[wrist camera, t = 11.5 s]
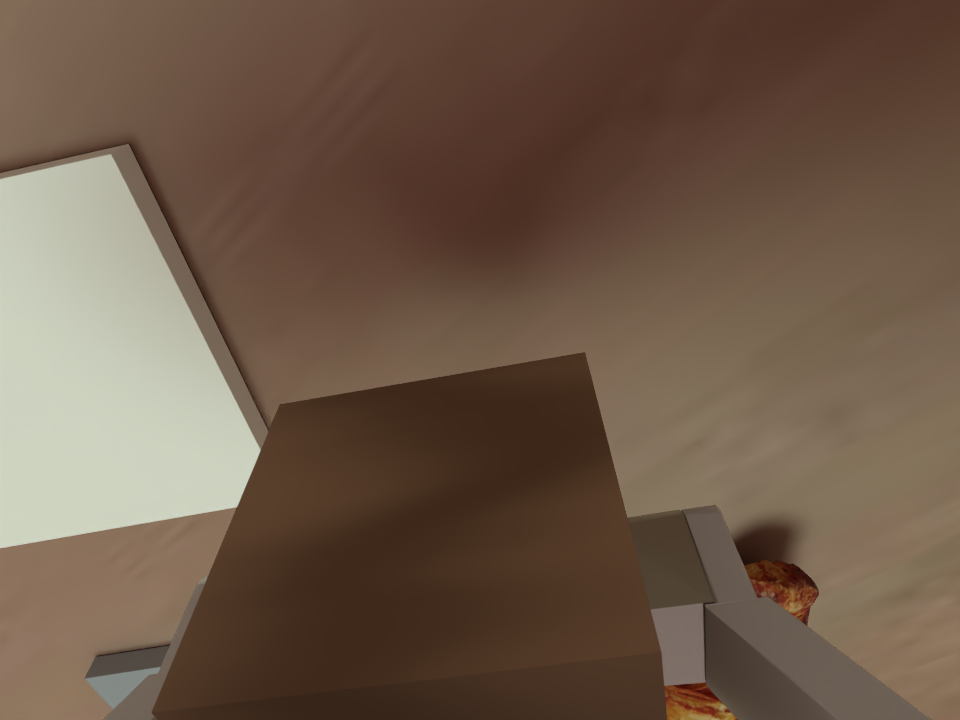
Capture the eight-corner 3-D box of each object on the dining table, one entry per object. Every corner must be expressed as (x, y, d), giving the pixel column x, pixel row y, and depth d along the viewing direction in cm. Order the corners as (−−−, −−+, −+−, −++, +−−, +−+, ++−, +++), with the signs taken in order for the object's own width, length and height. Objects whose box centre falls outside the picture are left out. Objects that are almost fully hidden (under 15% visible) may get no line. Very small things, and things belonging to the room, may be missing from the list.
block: (584, 352, 10) (662, 652, 6) (613, 561, 13) (679, 867, 9) (279, 404, 11) (151, 712, 6) (369, 593, 13) (320, 897, 9)
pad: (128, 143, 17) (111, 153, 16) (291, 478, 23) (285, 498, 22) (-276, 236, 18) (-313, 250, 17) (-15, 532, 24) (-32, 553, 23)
